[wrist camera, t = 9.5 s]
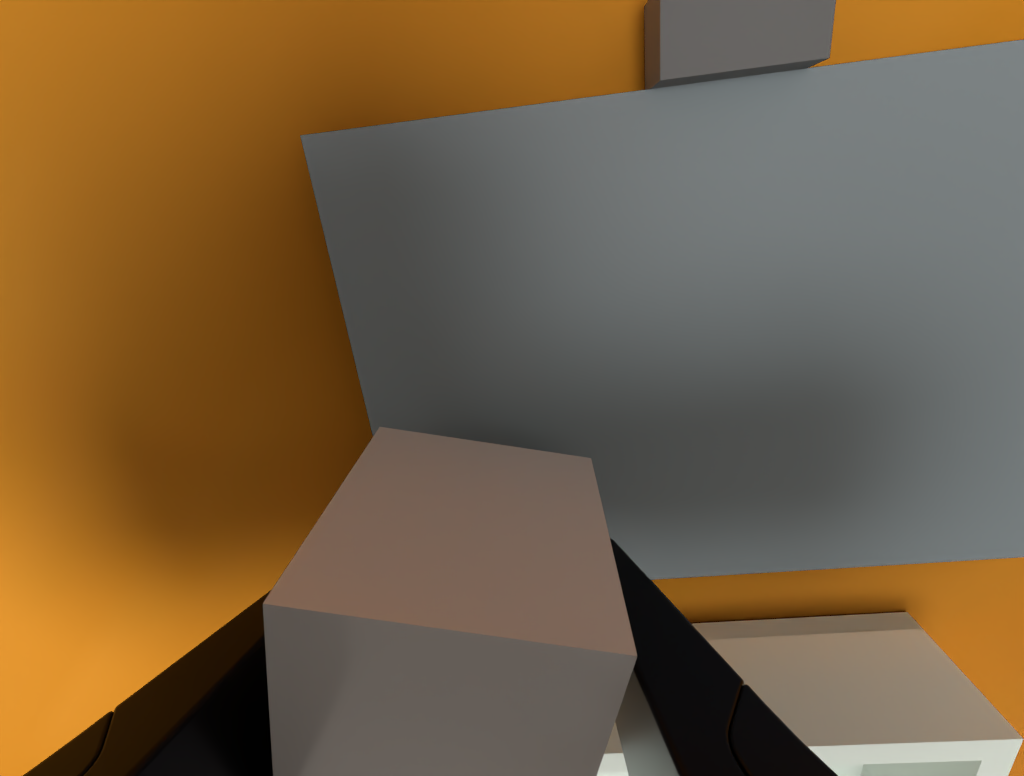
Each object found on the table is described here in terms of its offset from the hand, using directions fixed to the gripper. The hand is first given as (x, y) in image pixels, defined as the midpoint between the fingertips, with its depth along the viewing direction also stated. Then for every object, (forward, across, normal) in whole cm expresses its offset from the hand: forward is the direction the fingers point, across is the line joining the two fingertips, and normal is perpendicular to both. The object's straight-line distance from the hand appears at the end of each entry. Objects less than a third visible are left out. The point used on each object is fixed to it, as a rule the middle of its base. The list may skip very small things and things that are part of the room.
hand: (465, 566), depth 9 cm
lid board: (+2, -5, -2) cm, 6 cm away
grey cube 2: (+1, 0, 0) cm, 1 cm away
